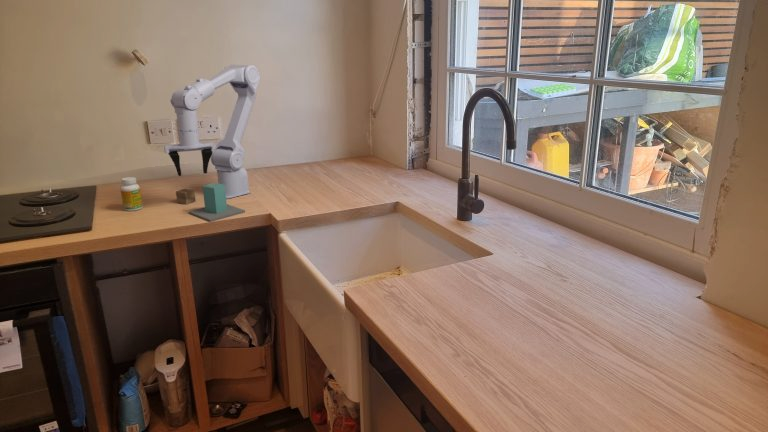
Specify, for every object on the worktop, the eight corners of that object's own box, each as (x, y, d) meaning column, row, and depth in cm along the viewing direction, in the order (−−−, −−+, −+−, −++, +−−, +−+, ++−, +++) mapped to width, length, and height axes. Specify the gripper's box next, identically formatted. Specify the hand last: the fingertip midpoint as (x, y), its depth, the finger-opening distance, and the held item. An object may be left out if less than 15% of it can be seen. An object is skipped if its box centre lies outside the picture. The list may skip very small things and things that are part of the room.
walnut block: (186, 200, 171) (185, 188, 170) (195, 201, 170) (194, 189, 168) (177, 203, 168) (175, 191, 167) (186, 205, 166) (185, 193, 165)
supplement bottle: (135, 211, 159) (130, 181, 156) (120, 210, 160) (115, 180, 157) (146, 206, 164) (142, 176, 161) (131, 205, 165) (126, 175, 162)
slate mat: (223, 204, 167) (223, 202, 166) (245, 212, 159) (245, 210, 159) (188, 213, 158) (188, 211, 158) (210, 221, 151) (209, 219, 150)
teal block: (215, 207, 161) (213, 182, 159) (227, 209, 159) (224, 184, 157) (205, 211, 157) (202, 186, 155) (216, 213, 156) (214, 188, 153)
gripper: (209, 127, 165) (213, 169, 169) (160, 129, 158) (165, 173, 162) (215, 130, 159) (218, 173, 163) (164, 133, 152) (169, 178, 156)
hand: (192, 174), depth 162 cm, fingers open, 7 cm apart
